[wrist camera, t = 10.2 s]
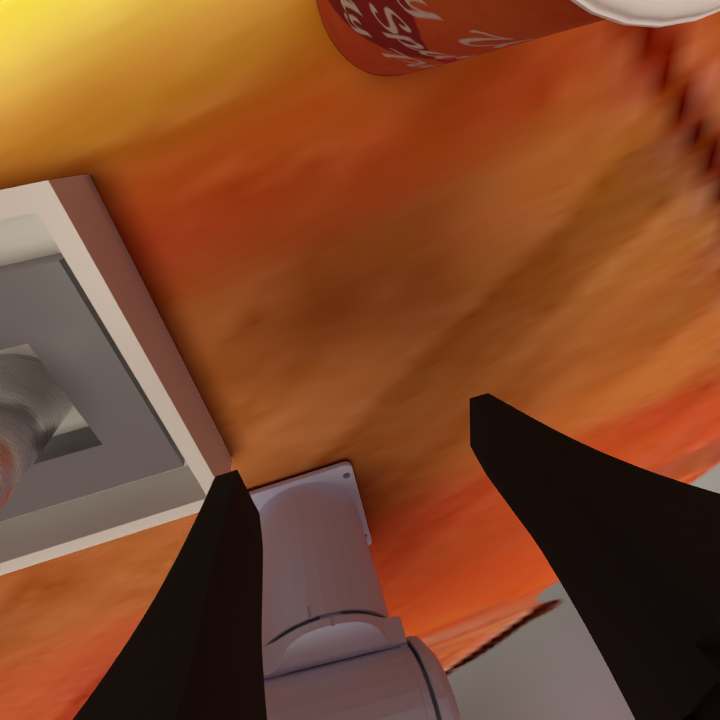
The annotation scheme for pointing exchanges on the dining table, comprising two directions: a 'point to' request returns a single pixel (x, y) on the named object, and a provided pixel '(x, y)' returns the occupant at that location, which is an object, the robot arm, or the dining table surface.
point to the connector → (26, 416)
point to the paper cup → (475, 26)
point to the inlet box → (95, 381)
